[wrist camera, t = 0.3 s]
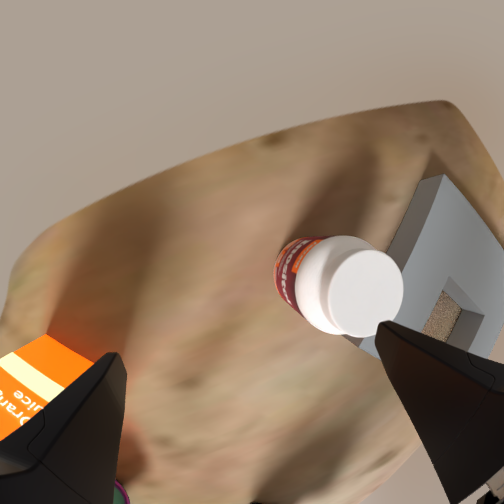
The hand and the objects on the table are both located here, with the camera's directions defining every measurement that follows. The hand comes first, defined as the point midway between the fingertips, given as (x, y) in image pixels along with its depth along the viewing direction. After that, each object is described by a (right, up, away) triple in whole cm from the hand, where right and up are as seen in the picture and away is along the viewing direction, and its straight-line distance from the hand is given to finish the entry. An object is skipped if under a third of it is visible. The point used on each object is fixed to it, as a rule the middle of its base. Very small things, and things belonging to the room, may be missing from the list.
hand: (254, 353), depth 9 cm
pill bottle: (+5, +1, +16) cm, 17 cm away
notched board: (+21, -2, +18) cm, 28 cm away
